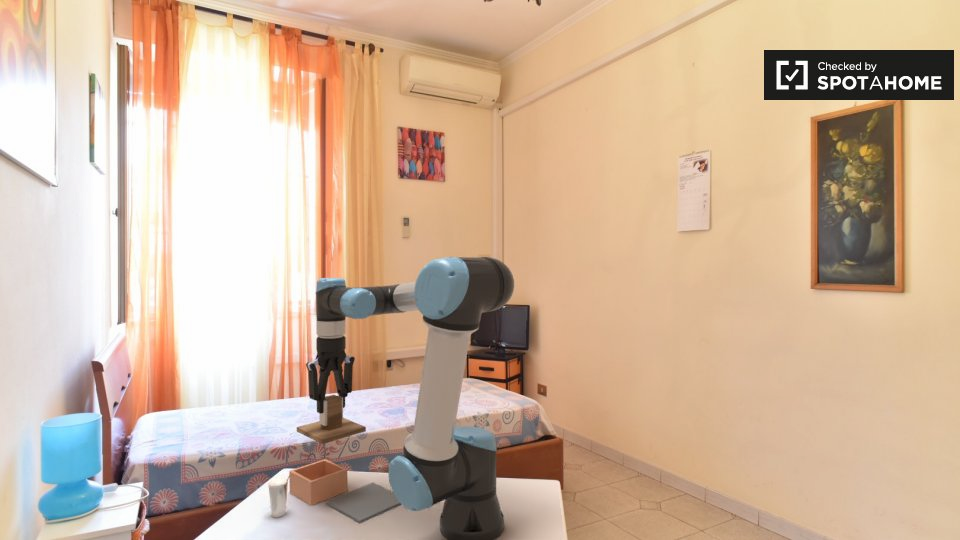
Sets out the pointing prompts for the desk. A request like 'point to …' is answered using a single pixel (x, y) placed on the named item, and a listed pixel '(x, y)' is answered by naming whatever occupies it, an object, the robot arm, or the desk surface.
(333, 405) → the lid
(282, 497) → the milkshake
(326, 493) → the open peach box
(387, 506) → the mat
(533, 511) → the desk surface
